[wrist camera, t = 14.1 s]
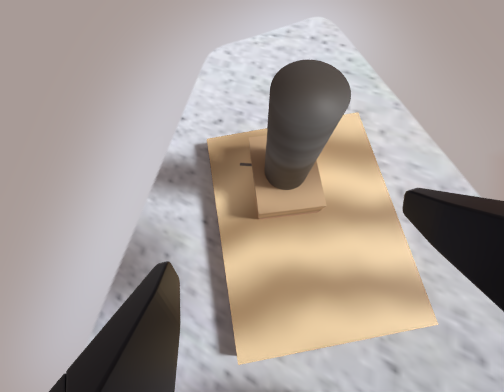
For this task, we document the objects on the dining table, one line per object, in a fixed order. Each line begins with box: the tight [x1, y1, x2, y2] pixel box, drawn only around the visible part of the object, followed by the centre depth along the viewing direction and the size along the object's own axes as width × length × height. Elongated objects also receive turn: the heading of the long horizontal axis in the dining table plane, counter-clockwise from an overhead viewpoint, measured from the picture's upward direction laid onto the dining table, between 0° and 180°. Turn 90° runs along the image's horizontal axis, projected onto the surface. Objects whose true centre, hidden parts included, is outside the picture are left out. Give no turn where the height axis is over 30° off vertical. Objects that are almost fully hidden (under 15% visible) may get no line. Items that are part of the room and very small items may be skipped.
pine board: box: [207, 112, 438, 365], centre depth 20 cm, size 20×16×2 cm
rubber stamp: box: [249, 60, 351, 219], centre depth 15 cm, size 7×6×12 cm
